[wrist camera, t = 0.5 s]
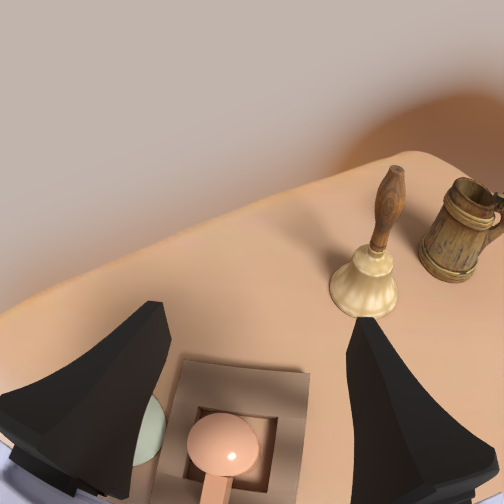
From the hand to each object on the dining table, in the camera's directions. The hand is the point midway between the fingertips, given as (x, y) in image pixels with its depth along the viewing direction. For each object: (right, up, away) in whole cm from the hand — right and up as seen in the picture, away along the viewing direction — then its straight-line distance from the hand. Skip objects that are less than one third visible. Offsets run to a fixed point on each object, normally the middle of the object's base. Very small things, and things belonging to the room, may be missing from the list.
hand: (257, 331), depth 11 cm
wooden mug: (+28, +1, +23) cm, 37 cm away
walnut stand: (-2, -15, +12) cm, 19 cm away
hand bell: (+13, -2, +22) cm, 26 cm away
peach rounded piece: (-2, -16, +10) cm, 19 cm away
